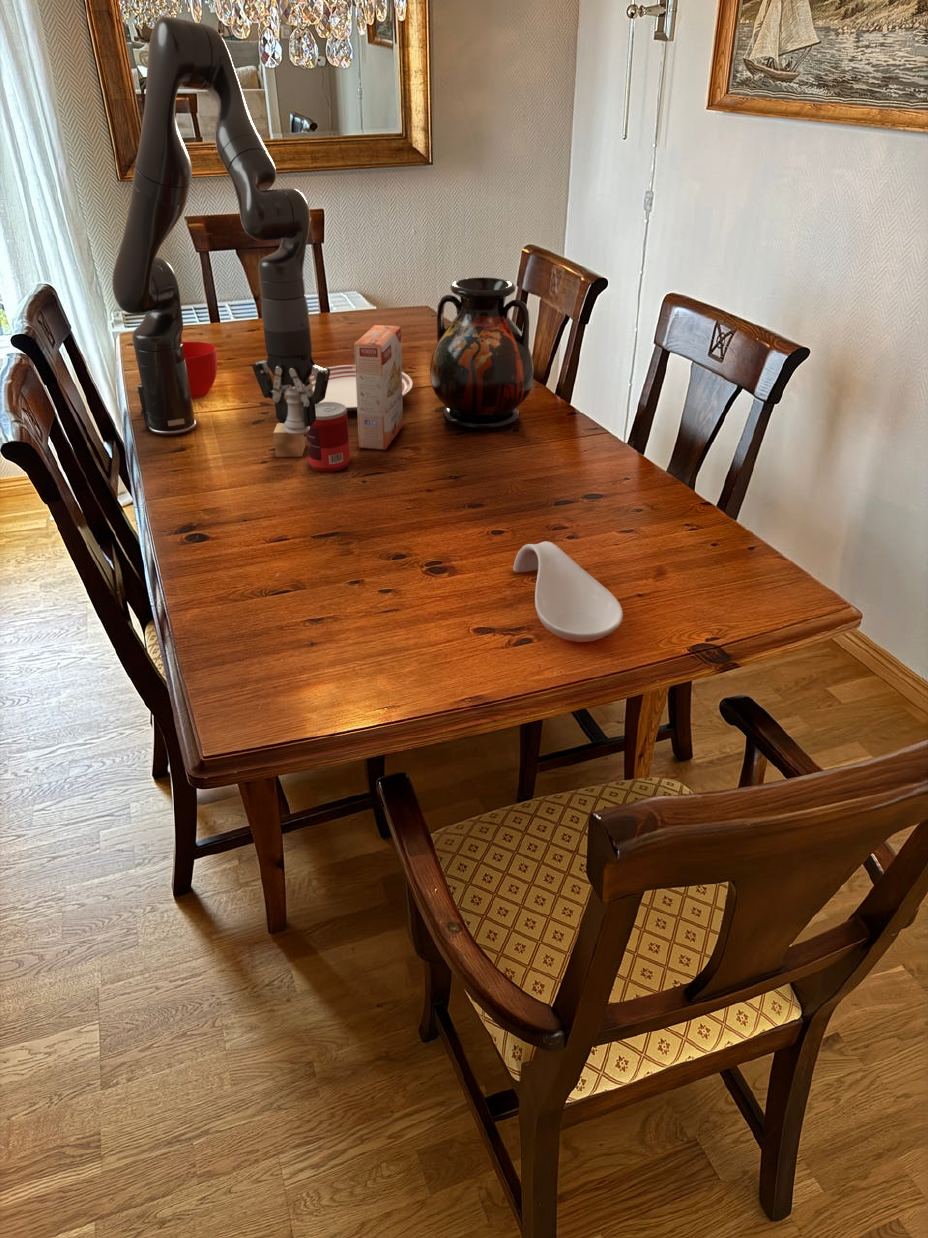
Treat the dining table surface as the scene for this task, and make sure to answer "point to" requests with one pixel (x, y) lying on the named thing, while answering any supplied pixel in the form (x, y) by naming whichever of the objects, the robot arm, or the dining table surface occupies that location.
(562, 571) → the spoon rest
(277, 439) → the maple block
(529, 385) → the amphora vase
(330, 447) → the canned food
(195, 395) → the ceramic cup
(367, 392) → the cracker box
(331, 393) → the dinner plate
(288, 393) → the rook chess piece
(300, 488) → the dining table surface
